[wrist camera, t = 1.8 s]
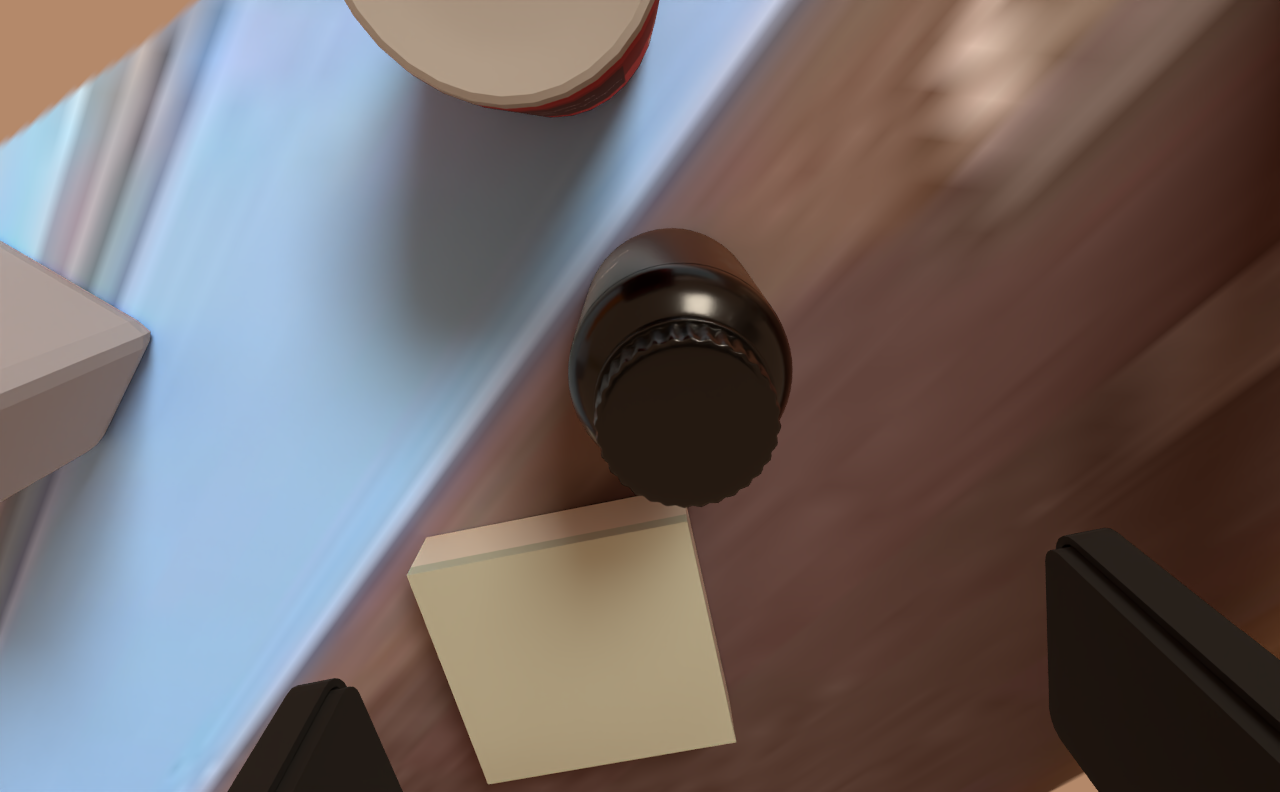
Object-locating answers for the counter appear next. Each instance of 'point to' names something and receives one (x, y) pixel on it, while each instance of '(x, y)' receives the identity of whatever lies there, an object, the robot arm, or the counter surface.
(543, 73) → the canned food
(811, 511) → the counter surface
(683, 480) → the supplement bottle
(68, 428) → the soap bottle
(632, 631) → the plate
